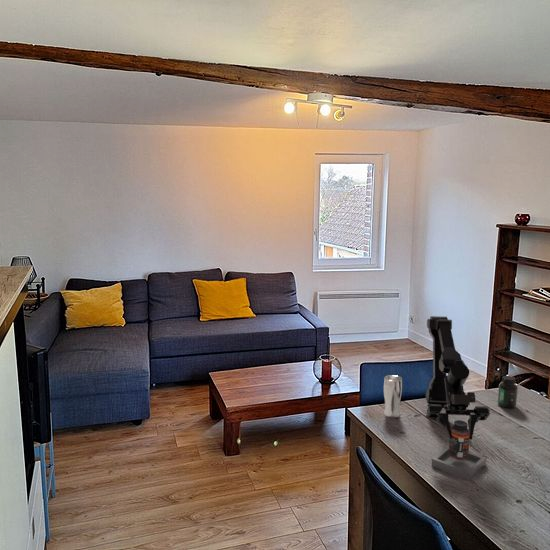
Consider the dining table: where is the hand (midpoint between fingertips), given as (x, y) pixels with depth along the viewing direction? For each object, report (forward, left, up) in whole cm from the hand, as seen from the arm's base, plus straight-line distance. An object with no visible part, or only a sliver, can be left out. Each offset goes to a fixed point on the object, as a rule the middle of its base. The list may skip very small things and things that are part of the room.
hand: (460, 438), depth 159 cm
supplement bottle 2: (-5, +58, -10) cm, 59 cm away
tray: (0, 0, -10) cm, 10 cm away
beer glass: (-35, +18, -10) cm, 41 cm away
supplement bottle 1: (-1, +1, -7) cm, 7 cm away
